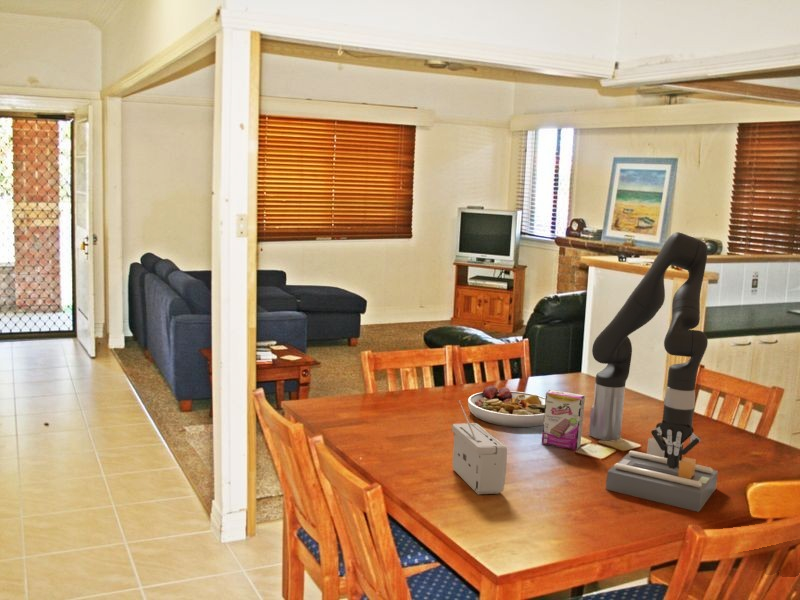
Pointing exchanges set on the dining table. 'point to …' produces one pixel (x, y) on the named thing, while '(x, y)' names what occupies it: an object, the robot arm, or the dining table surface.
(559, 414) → the candy bar box
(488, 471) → the stereo radio cassette player
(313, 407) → the dining table surface
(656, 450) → the medicine bottle
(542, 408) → the bowl
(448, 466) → the dining table surface
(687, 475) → the orange block
